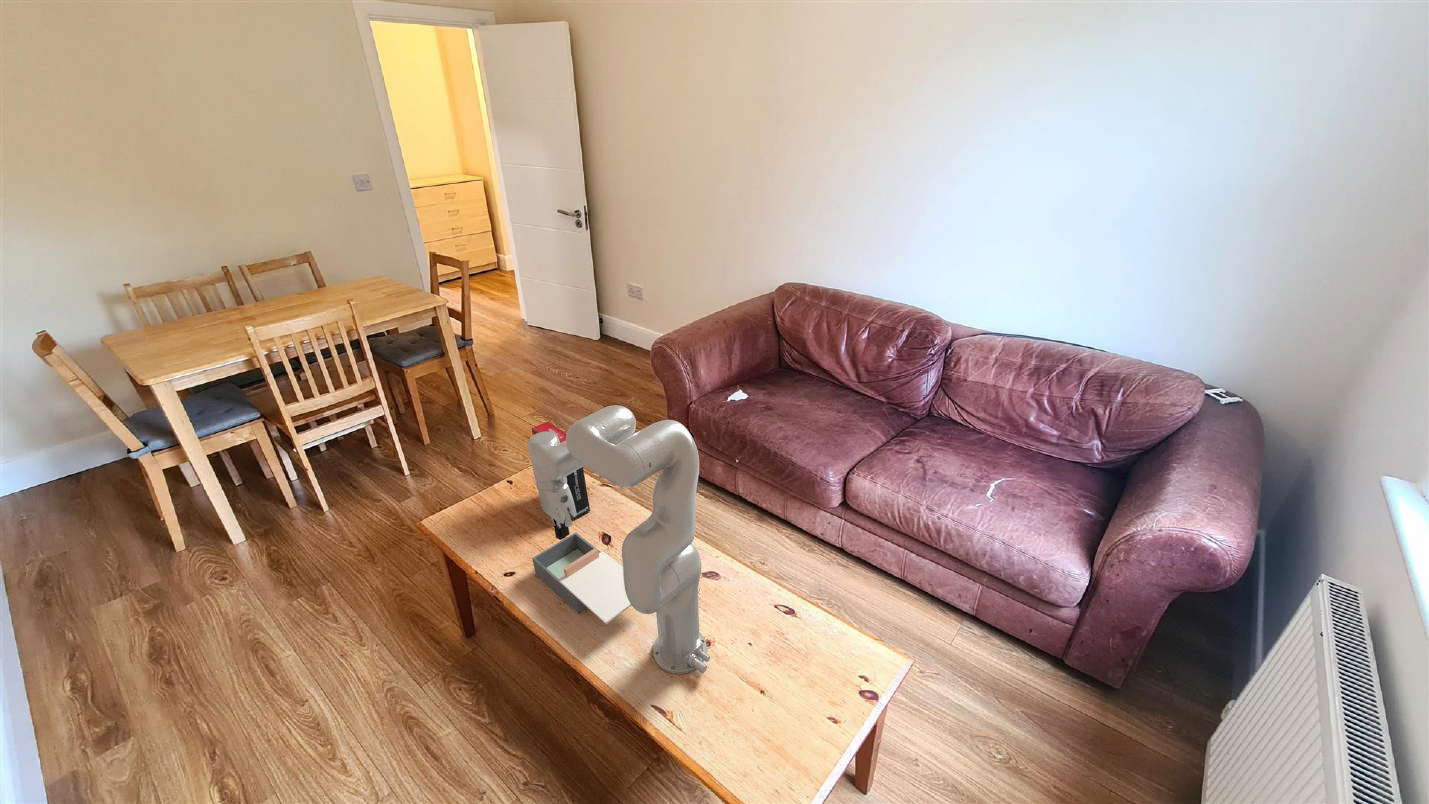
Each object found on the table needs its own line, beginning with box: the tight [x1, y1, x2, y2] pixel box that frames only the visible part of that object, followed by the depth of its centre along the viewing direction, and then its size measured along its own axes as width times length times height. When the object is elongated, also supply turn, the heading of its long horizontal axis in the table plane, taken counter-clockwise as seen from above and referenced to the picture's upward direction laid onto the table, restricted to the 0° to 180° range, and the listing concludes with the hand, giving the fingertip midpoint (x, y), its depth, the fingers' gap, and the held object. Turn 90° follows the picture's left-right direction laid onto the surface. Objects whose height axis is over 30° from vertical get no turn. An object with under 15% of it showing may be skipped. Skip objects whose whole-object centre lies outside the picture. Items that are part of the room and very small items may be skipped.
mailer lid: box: [558, 547, 633, 625], centre depth 144 cm, size 20×14×3 cm
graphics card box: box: [531, 421, 591, 521], centre depth 177 cm, size 17×7×27 cm, turn 46°
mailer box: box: [532, 532, 601, 615], centre depth 155 cm, size 20×14×6 cm
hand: (563, 536), depth 153 cm, fingers closed
